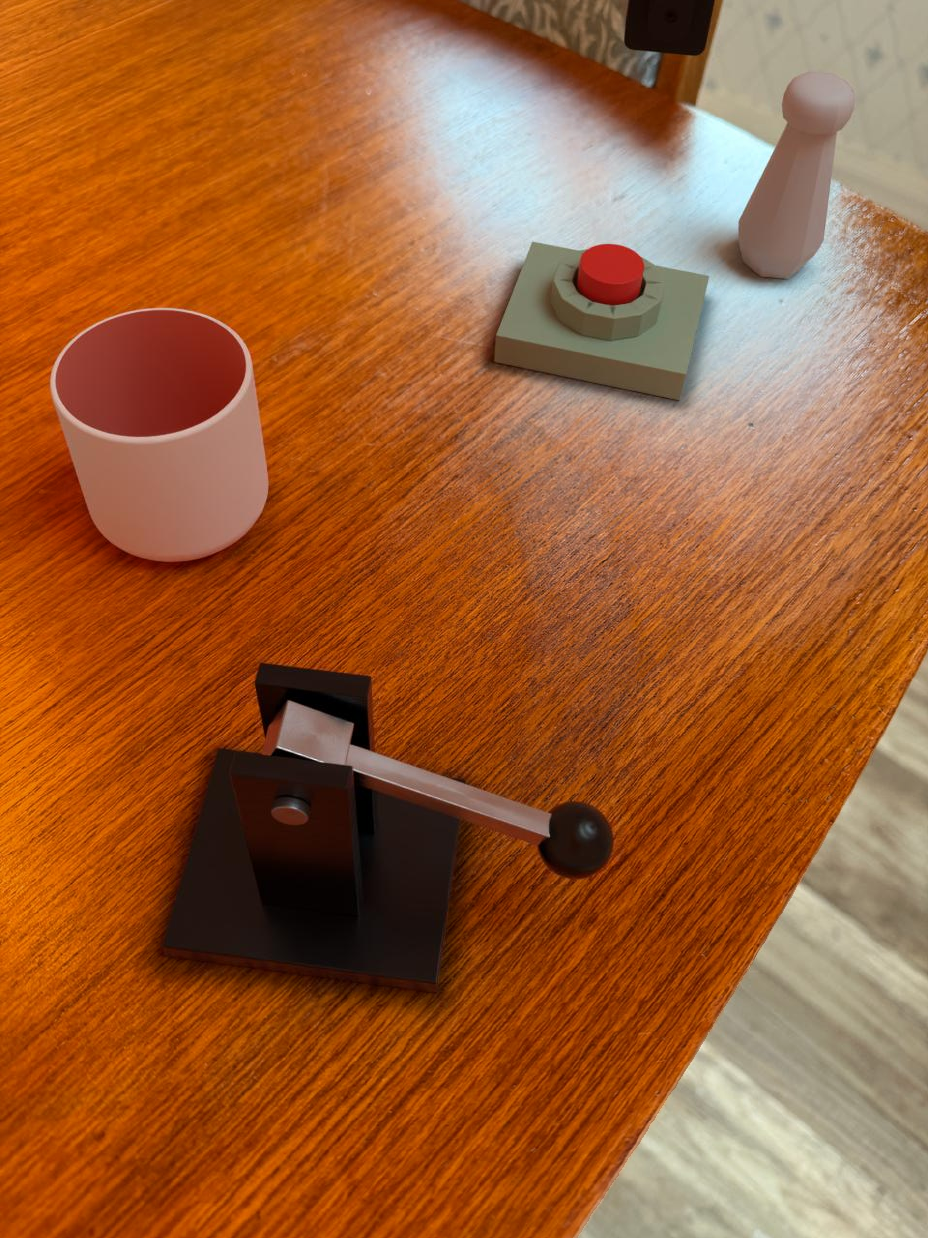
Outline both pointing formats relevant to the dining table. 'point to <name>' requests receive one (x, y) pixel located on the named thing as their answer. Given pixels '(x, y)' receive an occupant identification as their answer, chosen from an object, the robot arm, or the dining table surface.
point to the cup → (163, 431)
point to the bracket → (314, 858)
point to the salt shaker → (796, 178)
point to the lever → (447, 792)
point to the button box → (601, 325)
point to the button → (610, 274)
